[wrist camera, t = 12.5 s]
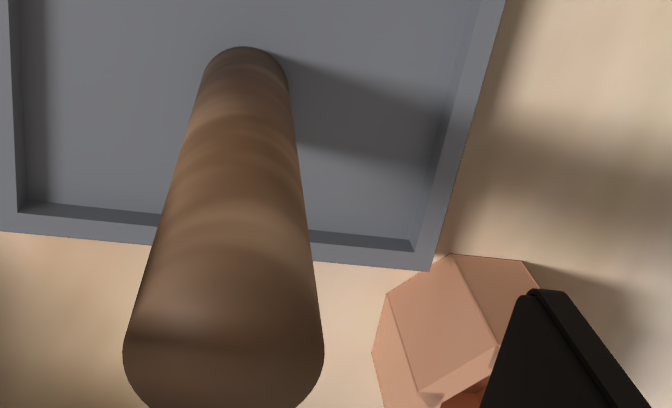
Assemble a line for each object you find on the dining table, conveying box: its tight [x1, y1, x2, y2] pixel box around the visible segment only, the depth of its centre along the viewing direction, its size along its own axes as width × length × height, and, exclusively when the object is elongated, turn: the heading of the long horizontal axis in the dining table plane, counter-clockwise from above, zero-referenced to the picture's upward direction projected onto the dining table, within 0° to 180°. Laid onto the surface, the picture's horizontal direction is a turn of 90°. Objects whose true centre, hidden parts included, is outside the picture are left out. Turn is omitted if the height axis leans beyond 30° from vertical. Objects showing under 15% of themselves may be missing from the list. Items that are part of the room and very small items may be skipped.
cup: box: [371, 254, 540, 408], centre depth 26 cm, size 8×8×6 cm
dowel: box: [122, 46, 325, 408], centre depth 16 cm, size 3×3×14 cm
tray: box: [0, 0, 506, 272], centre depth 22 cm, size 16×12×2 cm
